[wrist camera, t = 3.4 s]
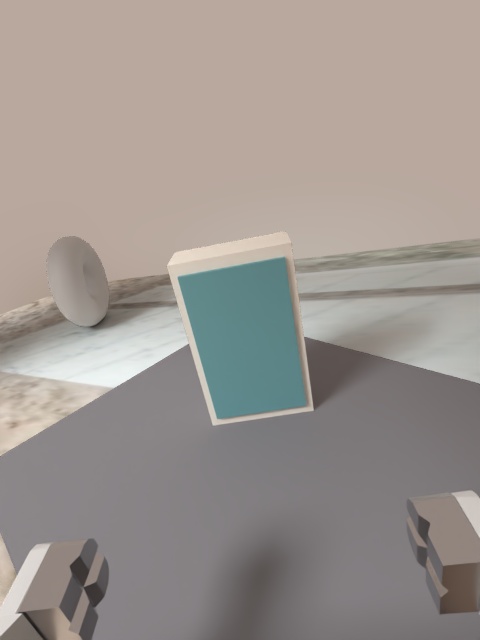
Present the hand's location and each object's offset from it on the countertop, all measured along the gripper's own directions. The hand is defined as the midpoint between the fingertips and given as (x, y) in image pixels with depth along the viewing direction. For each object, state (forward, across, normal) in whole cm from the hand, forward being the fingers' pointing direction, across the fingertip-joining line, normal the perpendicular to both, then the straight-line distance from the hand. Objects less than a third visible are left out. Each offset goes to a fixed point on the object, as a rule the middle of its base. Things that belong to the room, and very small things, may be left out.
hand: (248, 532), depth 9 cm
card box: (+12, 0, +6) cm, 13 cm away
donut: (+32, +18, +6) cm, 37 cm away
